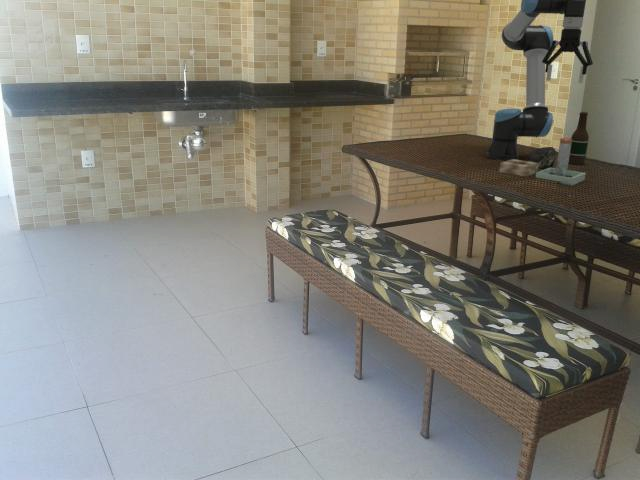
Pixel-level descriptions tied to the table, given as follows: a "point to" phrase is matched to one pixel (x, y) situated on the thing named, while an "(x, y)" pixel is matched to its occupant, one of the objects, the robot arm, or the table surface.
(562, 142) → the pin
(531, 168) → the block
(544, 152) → the rock
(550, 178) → the tray
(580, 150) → the beer bottle
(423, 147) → the table surface
